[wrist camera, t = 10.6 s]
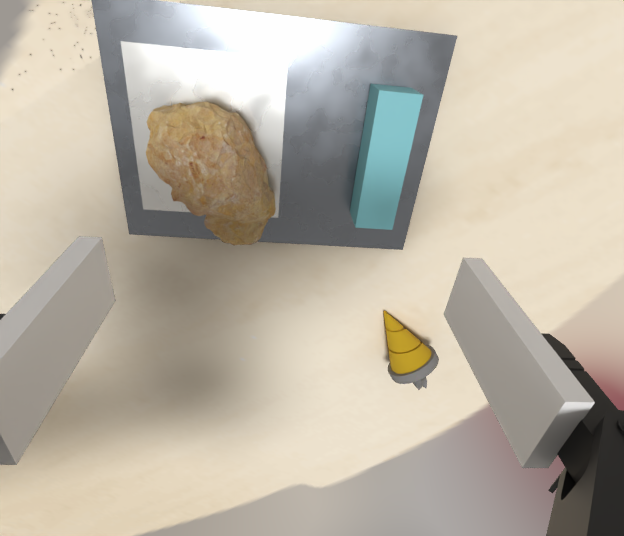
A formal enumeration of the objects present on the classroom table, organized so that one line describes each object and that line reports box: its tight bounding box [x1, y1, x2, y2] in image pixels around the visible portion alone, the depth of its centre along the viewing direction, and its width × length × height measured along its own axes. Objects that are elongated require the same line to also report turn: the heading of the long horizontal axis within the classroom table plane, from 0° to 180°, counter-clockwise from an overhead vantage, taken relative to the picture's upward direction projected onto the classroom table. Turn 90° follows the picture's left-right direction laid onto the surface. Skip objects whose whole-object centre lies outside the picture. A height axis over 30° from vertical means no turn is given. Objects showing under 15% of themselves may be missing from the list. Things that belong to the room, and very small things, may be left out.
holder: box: [92, 0, 457, 250], centre depth 31 cm, size 24×17×1 cm
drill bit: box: [383, 311, 439, 390], centre depth 42 cm, size 5×5×10 cm
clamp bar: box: [350, 84, 423, 230], centre depth 30 cm, size 3×10×3 cm, turn 174°
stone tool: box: [146, 101, 276, 245], centre depth 29 cm, size 9×7×10 cm
